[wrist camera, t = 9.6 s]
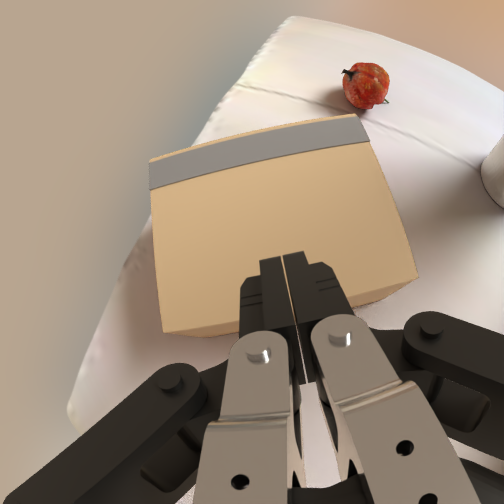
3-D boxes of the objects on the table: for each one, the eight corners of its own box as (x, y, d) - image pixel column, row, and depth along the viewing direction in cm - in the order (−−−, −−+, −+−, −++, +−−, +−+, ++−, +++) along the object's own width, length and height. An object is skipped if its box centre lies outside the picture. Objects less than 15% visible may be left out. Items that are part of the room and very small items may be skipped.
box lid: (414, 279, 21) (420, 277, 20) (167, 333, 23) (161, 332, 22) (354, 119, 26) (356, 112, 25) (153, 164, 28) (148, 158, 27)
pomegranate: (372, 95, 42) (327, 63, 38) (405, 78, 36) (360, 40, 31) (372, 129, 41) (324, 96, 37) (409, 113, 35) (361, 73, 30)
